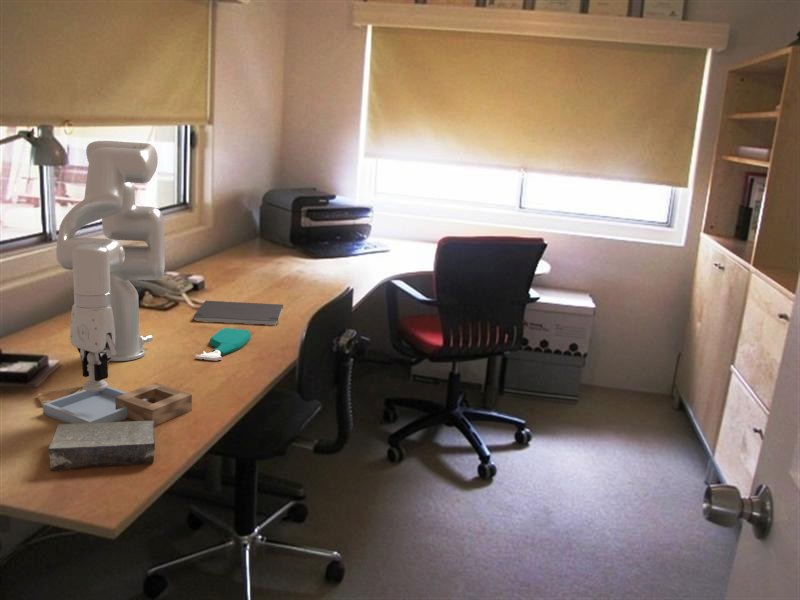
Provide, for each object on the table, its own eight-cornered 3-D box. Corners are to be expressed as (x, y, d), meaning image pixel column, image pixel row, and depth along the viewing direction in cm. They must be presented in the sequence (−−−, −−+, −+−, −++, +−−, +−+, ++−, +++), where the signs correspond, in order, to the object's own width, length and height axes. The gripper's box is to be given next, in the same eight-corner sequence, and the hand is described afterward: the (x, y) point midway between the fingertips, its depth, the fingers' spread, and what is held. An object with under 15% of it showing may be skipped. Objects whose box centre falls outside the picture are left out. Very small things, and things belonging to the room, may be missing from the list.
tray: (102, 393, 177) (102, 383, 176) (148, 409, 169) (148, 399, 169) (43, 414, 163) (42, 403, 162) (90, 432, 156) (90, 422, 155)
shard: (85, 391, 178) (84, 384, 178) (92, 402, 172) (92, 395, 172) (37, 398, 172) (36, 391, 172) (43, 410, 166) (42, 403, 166)
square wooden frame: (155, 397, 176) (155, 382, 175) (191, 410, 171) (191, 394, 170) (115, 413, 166) (115, 397, 165) (152, 426, 161) (152, 410, 160)
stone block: (155, 465, 145) (154, 442, 143) (47, 473, 139) (46, 449, 137) (156, 436, 157) (156, 415, 156) (58, 442, 151) (57, 420, 150)
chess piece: (108, 383, 168) (107, 346, 166) (107, 391, 163) (105, 354, 161) (83, 384, 166) (82, 347, 164) (81, 393, 161) (80, 355, 159)
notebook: (283, 310, 263) (205, 306, 260) (283, 304, 262) (205, 300, 260) (277, 327, 242) (192, 323, 240) (277, 320, 241) (192, 316, 239)
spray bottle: (253, 339, 227) (226, 365, 204) (220, 335, 228) (190, 361, 205) (253, 330, 227) (227, 356, 203) (220, 326, 228) (190, 351, 204)
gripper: (53, 296, 160) (57, 373, 165) (103, 310, 153) (106, 390, 157) (82, 290, 166) (85, 365, 171) (132, 303, 159) (133, 381, 163)
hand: (95, 376), depth 164 cm, fingers closed on chess piece, 3 cm apart
